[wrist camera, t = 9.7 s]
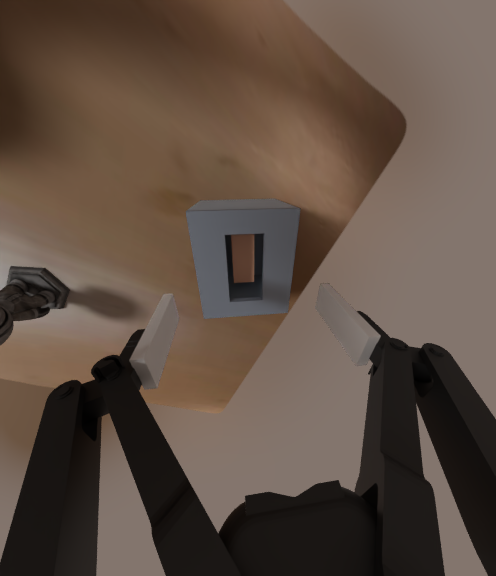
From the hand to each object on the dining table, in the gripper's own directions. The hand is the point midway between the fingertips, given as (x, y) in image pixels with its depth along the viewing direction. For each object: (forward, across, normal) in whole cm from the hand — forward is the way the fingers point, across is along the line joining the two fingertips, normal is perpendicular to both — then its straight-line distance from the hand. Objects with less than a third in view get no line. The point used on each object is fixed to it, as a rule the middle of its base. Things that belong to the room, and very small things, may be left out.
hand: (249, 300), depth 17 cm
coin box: (+19, 0, 0) cm, 19 cm away
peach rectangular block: (+18, 0, 0) cm, 18 cm away
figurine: (+19, -36, -7) cm, 42 cm away
